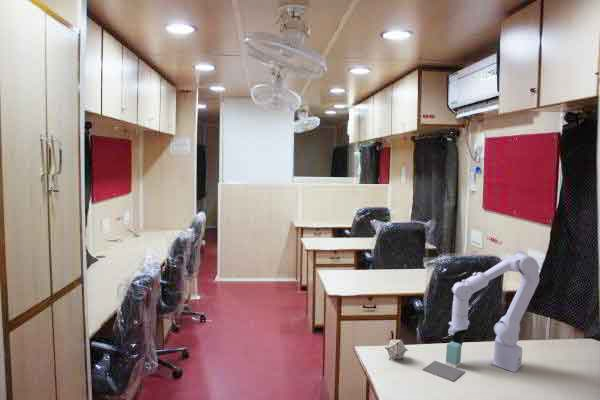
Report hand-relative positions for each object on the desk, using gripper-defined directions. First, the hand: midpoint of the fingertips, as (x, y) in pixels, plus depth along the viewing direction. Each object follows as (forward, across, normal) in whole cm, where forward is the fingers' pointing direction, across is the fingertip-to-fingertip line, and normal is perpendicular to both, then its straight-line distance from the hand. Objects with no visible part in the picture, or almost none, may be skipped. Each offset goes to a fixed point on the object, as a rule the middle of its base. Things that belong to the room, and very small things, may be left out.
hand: (457, 347), depth 177 cm
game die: (+6, +16, -18) cm, 24 cm away
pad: (+6, +12, 0) cm, 13 cm away
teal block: (+6, +4, 0) cm, 7 cm away
